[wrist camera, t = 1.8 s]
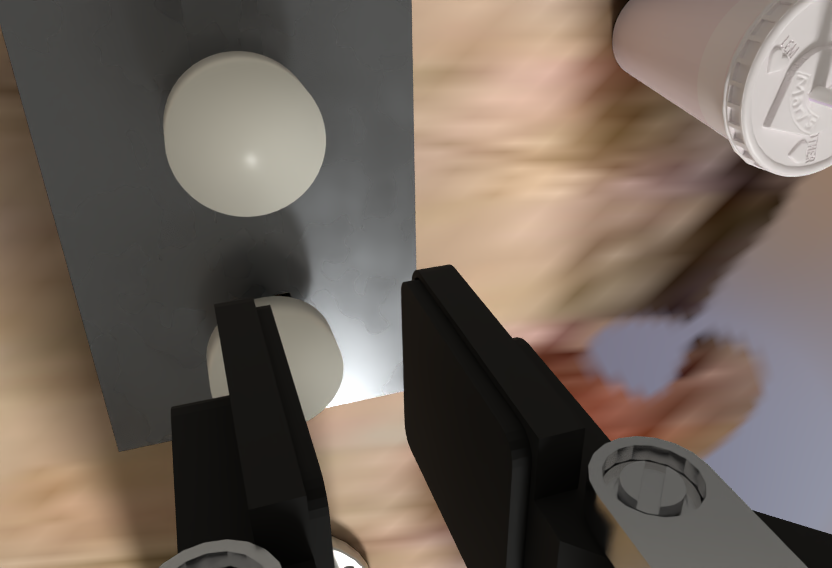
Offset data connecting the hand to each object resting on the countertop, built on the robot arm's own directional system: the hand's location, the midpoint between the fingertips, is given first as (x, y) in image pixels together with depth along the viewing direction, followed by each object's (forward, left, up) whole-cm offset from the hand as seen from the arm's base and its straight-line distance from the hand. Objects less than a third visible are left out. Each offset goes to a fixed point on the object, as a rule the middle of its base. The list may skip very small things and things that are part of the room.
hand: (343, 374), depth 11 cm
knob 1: (0, 0, -16) cm, 16 cm away
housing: (-4, 0, -19) cm, 20 cm away
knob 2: (-8, 0, -15) cm, 17 cm away
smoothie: (+1, -18, -19) cm, 26 cm away
